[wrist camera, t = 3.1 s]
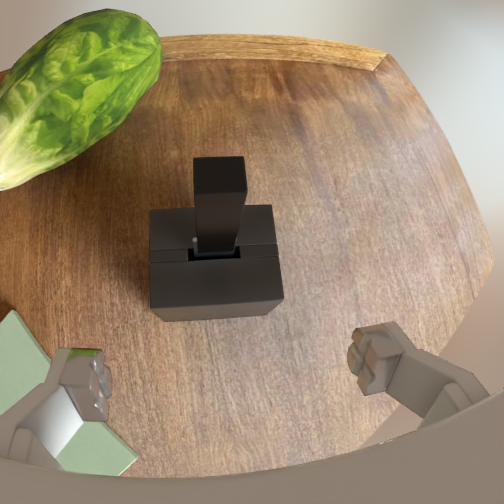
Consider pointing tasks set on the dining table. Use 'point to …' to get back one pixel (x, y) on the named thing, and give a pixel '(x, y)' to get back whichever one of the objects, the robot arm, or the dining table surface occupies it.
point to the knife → (218, 205)
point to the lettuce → (73, 90)
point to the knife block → (213, 268)
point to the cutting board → (34, 372)
